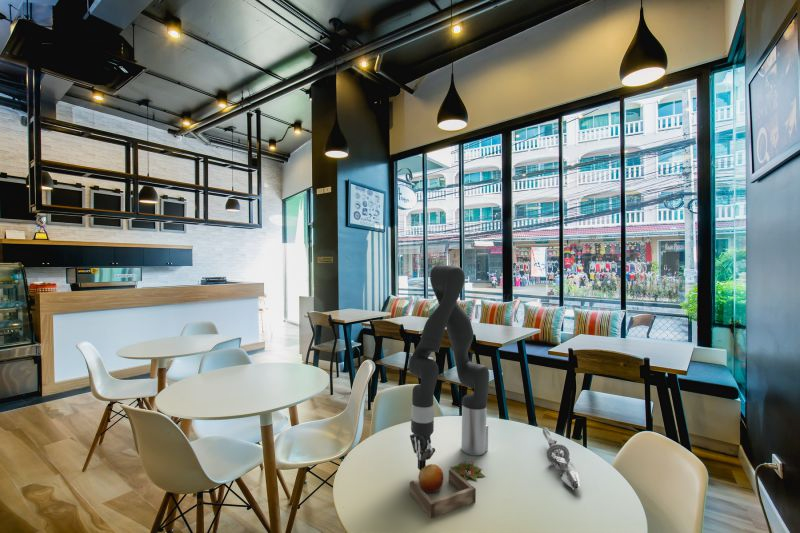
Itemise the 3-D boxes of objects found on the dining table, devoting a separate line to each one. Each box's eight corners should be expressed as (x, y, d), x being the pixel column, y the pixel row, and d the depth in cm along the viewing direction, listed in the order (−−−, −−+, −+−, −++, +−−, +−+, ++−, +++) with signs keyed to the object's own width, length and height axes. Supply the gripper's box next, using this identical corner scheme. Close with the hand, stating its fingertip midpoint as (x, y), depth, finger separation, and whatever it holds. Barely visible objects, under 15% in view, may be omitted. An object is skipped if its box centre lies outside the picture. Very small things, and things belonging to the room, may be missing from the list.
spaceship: (556, 423, 149) (538, 415, 150) (594, 482, 115) (570, 472, 115) (548, 440, 150) (529, 432, 151) (582, 504, 116) (559, 493, 116)
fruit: (448, 493, 112) (435, 469, 113) (425, 503, 114) (413, 479, 115) (450, 478, 120) (438, 456, 121) (429, 488, 122) (417, 465, 123)
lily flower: (473, 462, 135) (473, 449, 135) (492, 480, 123) (492, 466, 123) (443, 467, 131) (444, 454, 131) (460, 486, 119) (460, 472, 119)
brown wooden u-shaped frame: (451, 481, 122) (451, 468, 122) (475, 501, 111) (475, 488, 111) (409, 494, 114) (409, 481, 114) (430, 518, 103) (431, 504, 103)
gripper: (443, 423, 119) (442, 476, 119) (422, 408, 130) (421, 457, 130) (423, 427, 115) (422, 482, 115) (403, 412, 127) (402, 462, 127)
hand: (421, 469), depth 123 cm, fingers closed
